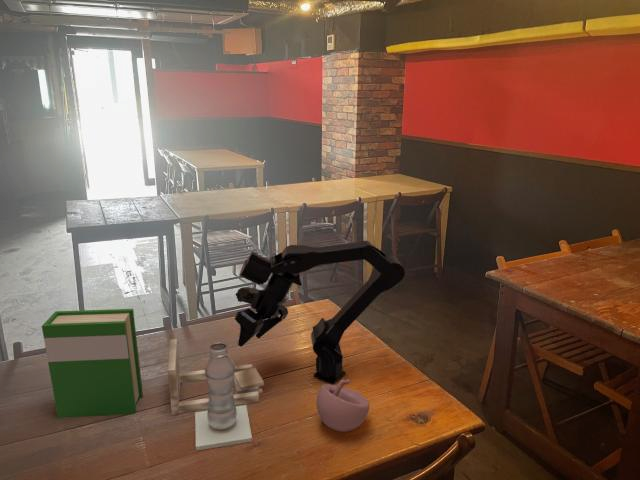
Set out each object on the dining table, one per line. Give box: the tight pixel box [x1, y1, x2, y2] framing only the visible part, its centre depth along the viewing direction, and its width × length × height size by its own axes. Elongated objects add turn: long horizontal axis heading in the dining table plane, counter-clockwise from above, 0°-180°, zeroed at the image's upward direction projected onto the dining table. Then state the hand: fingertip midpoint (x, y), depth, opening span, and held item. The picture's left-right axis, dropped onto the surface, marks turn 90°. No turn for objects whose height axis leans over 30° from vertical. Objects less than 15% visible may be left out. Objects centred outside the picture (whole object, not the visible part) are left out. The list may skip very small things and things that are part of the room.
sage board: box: [194, 404, 253, 452], centre depth 112 cm, size 12×12×1 cm
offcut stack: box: [233, 367, 265, 394], centre depth 128 cm, size 7×8×3 cm
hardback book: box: [41, 308, 144, 419], centre depth 116 cm, size 18×7×24 cm, turn 96°
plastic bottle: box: [204, 342, 237, 430], centre depth 109 cm, size 6×7×20 cm
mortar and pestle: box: [316, 378, 370, 432], centre depth 112 cm, size 12×12×12 cm
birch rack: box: [167, 338, 260, 416], centre depth 124 cm, size 21×15×12 cm
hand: (248, 341), depth 127 cm, fingers open, 9 cm apart
